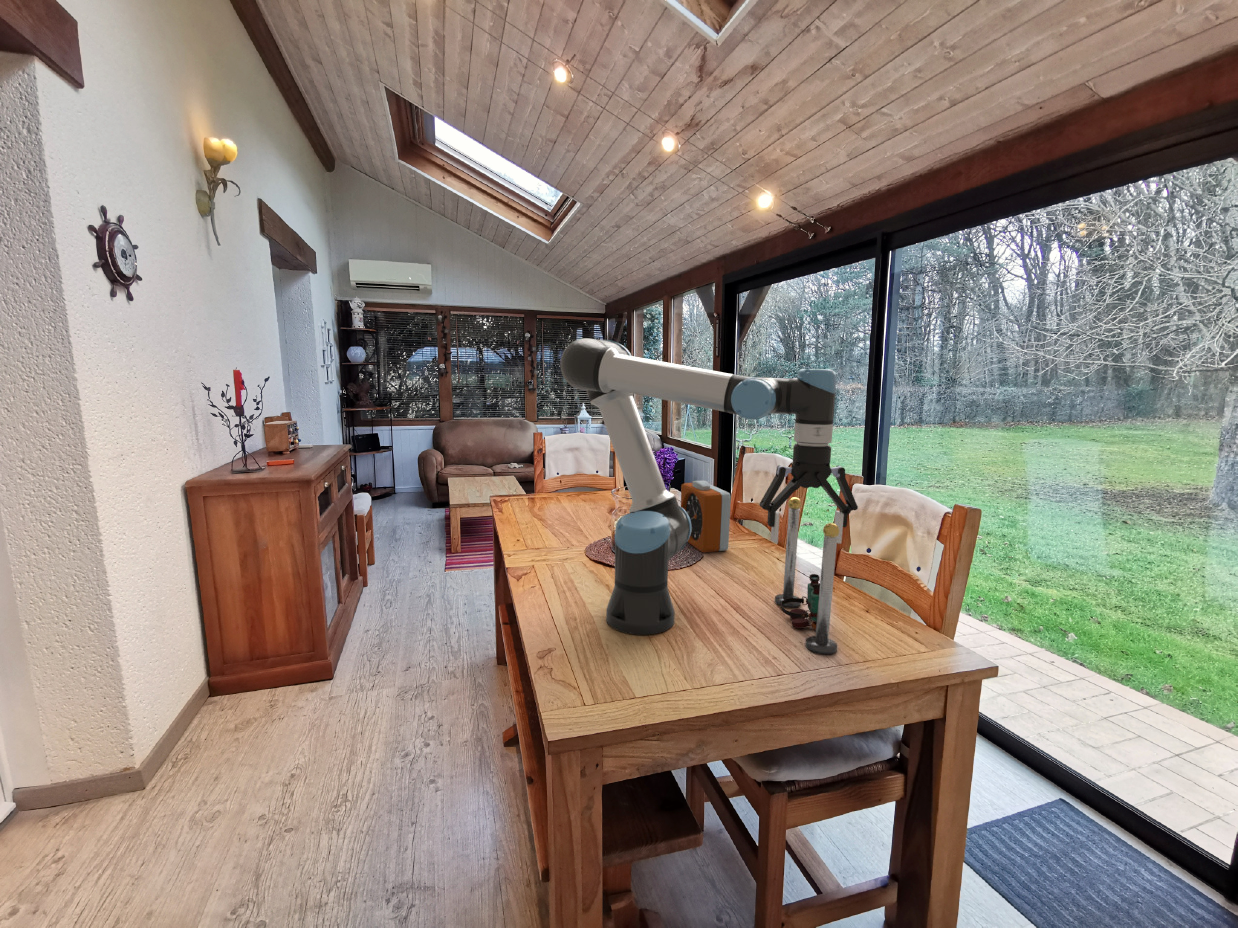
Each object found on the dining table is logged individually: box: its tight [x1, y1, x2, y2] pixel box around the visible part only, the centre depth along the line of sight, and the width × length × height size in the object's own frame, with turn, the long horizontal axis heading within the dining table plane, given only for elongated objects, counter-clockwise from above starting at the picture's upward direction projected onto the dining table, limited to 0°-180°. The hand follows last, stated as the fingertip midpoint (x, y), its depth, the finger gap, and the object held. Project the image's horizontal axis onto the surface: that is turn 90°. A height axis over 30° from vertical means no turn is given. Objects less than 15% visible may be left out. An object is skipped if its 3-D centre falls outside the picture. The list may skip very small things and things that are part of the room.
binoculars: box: [780, 573, 821, 630], centre depth 124 cm, size 9×11×10 cm
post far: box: [774, 496, 802, 609], centre depth 133 cm, size 6×6×26 cm
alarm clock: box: [680, 480, 732, 553], centre depth 178 cm, size 18×9×21 cm, turn 17°
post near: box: [804, 522, 839, 656], centre depth 112 cm, size 6×6×26 cm
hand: (805, 541), depth 122 cm, fingers open, 13 cm apart
